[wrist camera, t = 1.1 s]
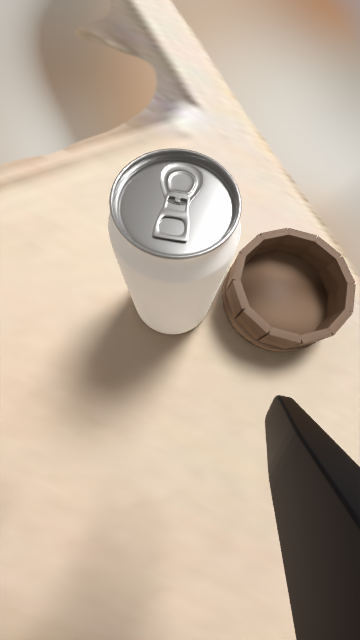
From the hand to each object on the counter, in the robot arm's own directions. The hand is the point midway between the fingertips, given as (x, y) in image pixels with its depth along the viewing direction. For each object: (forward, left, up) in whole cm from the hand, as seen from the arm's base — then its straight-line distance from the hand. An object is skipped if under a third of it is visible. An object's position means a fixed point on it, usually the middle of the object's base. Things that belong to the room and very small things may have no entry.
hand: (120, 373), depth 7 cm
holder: (+5, -12, -13) cm, 19 cm away
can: (+7, -3, -14) cm, 16 cm away
